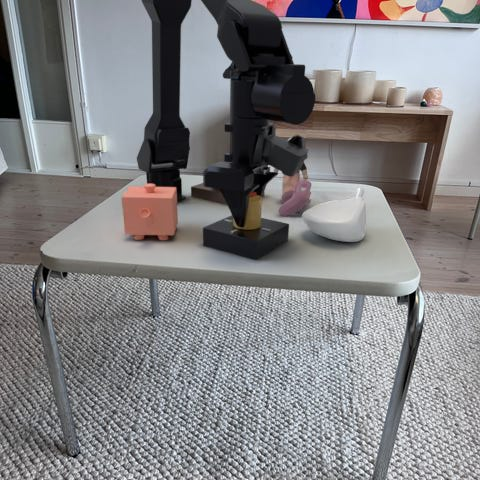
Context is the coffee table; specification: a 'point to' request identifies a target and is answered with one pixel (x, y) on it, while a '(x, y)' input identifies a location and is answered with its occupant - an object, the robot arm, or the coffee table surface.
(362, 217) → the golf club head
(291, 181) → the grandmother figurine
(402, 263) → the coffee table surface
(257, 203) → the dimmer knob
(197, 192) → the lamp base
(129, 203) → the pink cube teapot
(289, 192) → the pink rounded piece
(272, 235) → the panel
